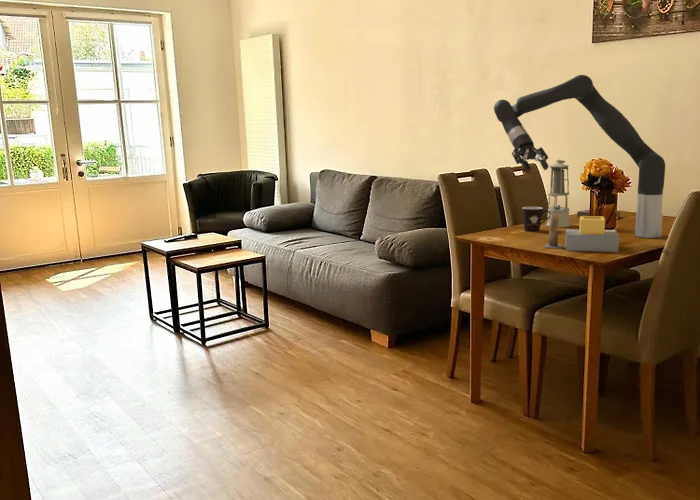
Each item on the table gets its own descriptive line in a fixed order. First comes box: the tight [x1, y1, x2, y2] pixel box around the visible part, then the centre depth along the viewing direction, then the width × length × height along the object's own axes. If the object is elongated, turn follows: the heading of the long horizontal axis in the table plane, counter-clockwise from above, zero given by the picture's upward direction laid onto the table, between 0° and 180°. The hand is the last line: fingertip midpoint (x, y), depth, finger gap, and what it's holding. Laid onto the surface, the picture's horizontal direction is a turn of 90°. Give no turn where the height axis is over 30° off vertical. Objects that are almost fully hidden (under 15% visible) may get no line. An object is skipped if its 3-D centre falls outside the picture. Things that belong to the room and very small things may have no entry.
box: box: [576, 209, 621, 218], centre depth 311 cm, size 11×17×3 cm, turn 48°
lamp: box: [546, 159, 571, 228], centre depth 289 cm, size 10×13×30 cm
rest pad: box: [544, 243, 562, 250], centre depth 244 cm, size 6×6×1 cm
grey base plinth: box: [564, 216, 620, 253], centre depth 239 cm, size 18×12×12 cm, turn 73°
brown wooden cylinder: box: [548, 214, 559, 247], centre depth 243 cm, size 3×3×12 cm
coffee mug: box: [521, 206, 551, 233], centre depth 279 cm, size 12×9×10 cm
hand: (538, 169), depth 252 cm, fingers open, 8 cm apart
